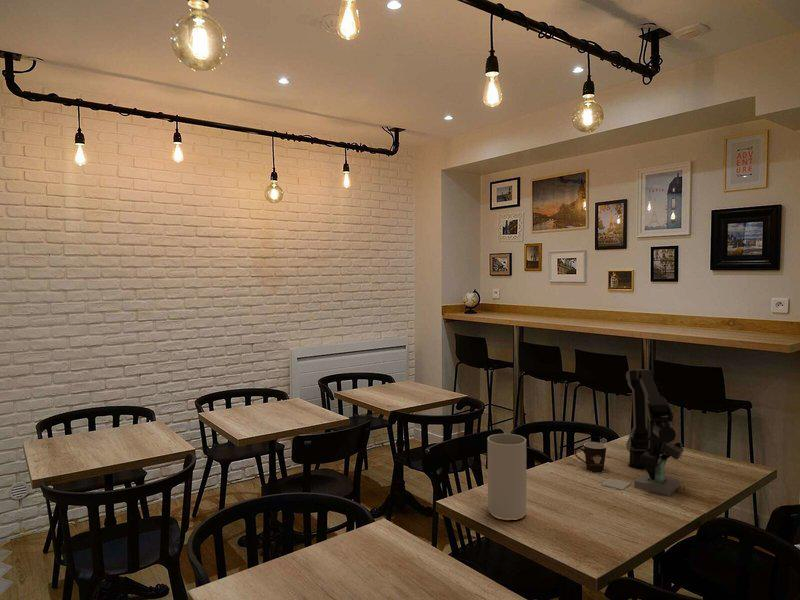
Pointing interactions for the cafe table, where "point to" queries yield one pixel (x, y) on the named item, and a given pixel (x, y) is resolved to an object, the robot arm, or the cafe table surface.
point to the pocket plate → (657, 484)
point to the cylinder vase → (507, 475)
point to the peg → (660, 473)
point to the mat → (616, 484)
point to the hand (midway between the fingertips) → (657, 476)
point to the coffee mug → (594, 456)
